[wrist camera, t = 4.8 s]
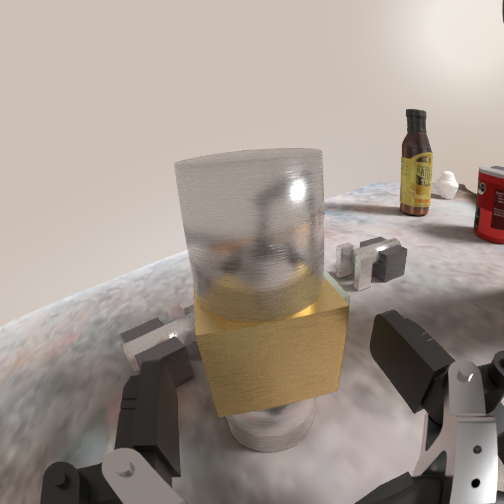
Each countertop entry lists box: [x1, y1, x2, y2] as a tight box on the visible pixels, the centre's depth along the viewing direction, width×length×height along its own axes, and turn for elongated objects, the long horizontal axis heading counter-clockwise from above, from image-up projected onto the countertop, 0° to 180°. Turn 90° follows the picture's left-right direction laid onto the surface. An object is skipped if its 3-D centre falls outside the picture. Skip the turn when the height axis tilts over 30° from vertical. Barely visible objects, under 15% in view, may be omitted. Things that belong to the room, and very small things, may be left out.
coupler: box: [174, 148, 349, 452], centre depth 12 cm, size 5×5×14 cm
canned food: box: [474, 167, 504, 244], centre depth 33 cm, size 8×8×11 cm
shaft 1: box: [121, 298, 197, 388], centre depth 20 cm, size 7×4×3 cm, turn 131°
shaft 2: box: [336, 237, 407, 291], centre depth 29 cm, size 7×4×3 cm, turn 111°
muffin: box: [436, 171, 458, 199], centre depth 58 cm, size 6×6×7 cm
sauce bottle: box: [400, 109, 432, 215], centre depth 45 cm, size 6×6×20 cm
